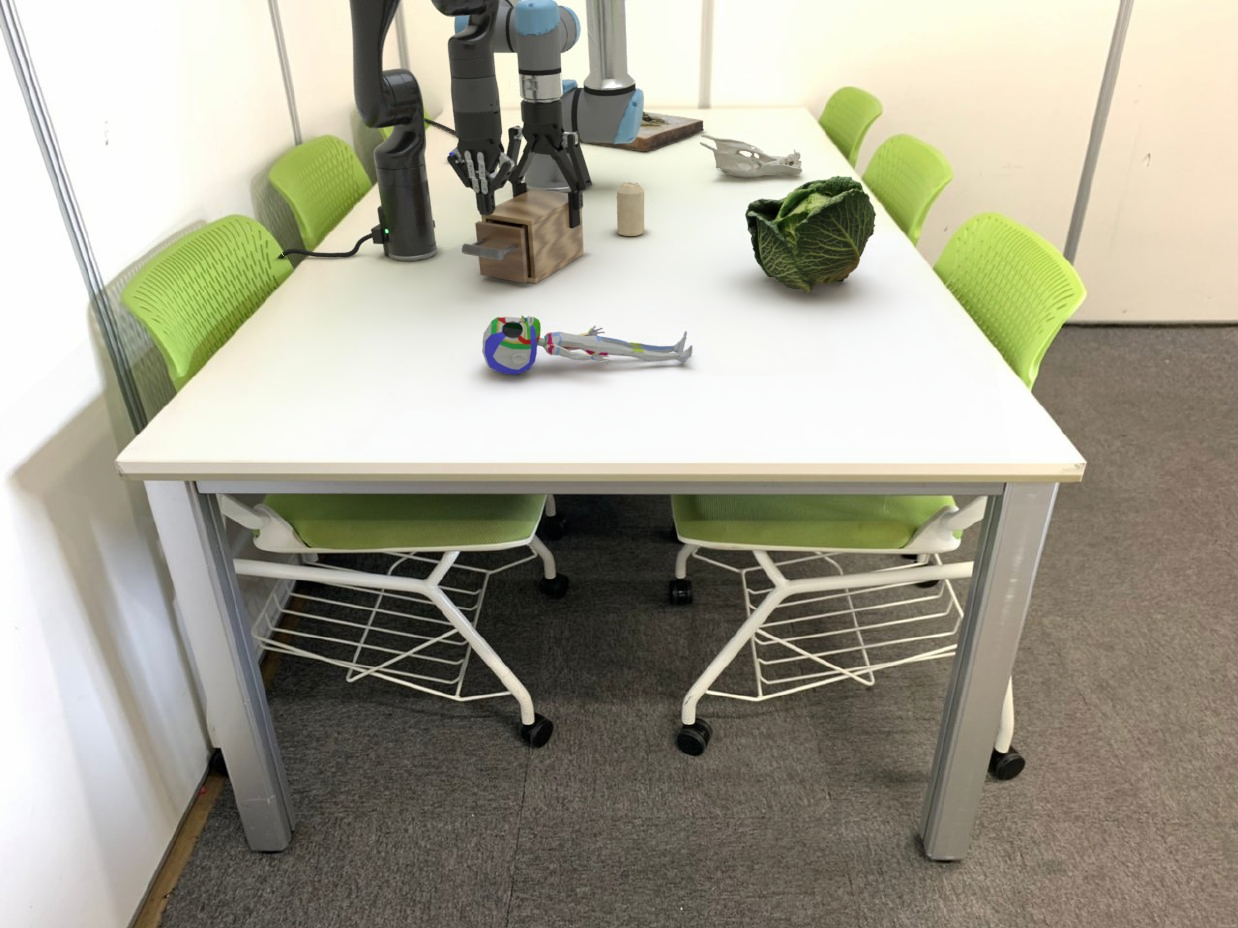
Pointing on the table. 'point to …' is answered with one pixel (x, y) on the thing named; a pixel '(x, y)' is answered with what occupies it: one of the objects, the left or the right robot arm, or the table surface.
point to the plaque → (660, 131)
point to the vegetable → (812, 232)
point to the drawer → (501, 250)
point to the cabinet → (543, 229)
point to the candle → (630, 209)
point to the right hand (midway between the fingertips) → (548, 222)
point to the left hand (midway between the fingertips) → (487, 214)
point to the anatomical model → (751, 160)
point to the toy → (561, 345)
